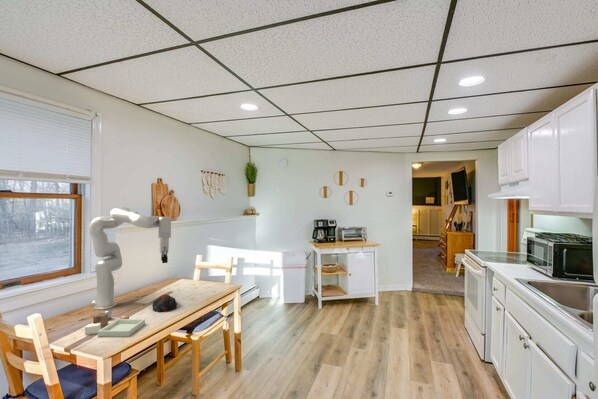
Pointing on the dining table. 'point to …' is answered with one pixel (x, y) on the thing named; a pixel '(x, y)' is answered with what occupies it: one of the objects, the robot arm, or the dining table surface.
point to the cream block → (92, 328)
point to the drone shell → (164, 304)
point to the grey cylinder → (109, 314)
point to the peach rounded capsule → (124, 317)
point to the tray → (121, 327)
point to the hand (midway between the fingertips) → (164, 261)
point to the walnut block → (101, 319)
